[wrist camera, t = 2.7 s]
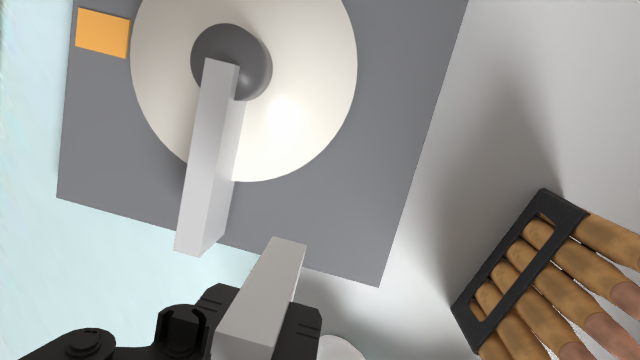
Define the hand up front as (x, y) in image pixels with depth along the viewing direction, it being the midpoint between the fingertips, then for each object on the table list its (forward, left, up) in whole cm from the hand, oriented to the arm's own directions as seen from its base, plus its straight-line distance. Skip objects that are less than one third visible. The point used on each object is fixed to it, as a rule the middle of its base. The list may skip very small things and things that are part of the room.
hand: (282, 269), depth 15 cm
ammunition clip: (-14, 0, -11) cm, 18 cm away
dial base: (+6, -8, -11) cm, 15 cm away
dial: (+6, -6, -9) cm, 12 cm away
